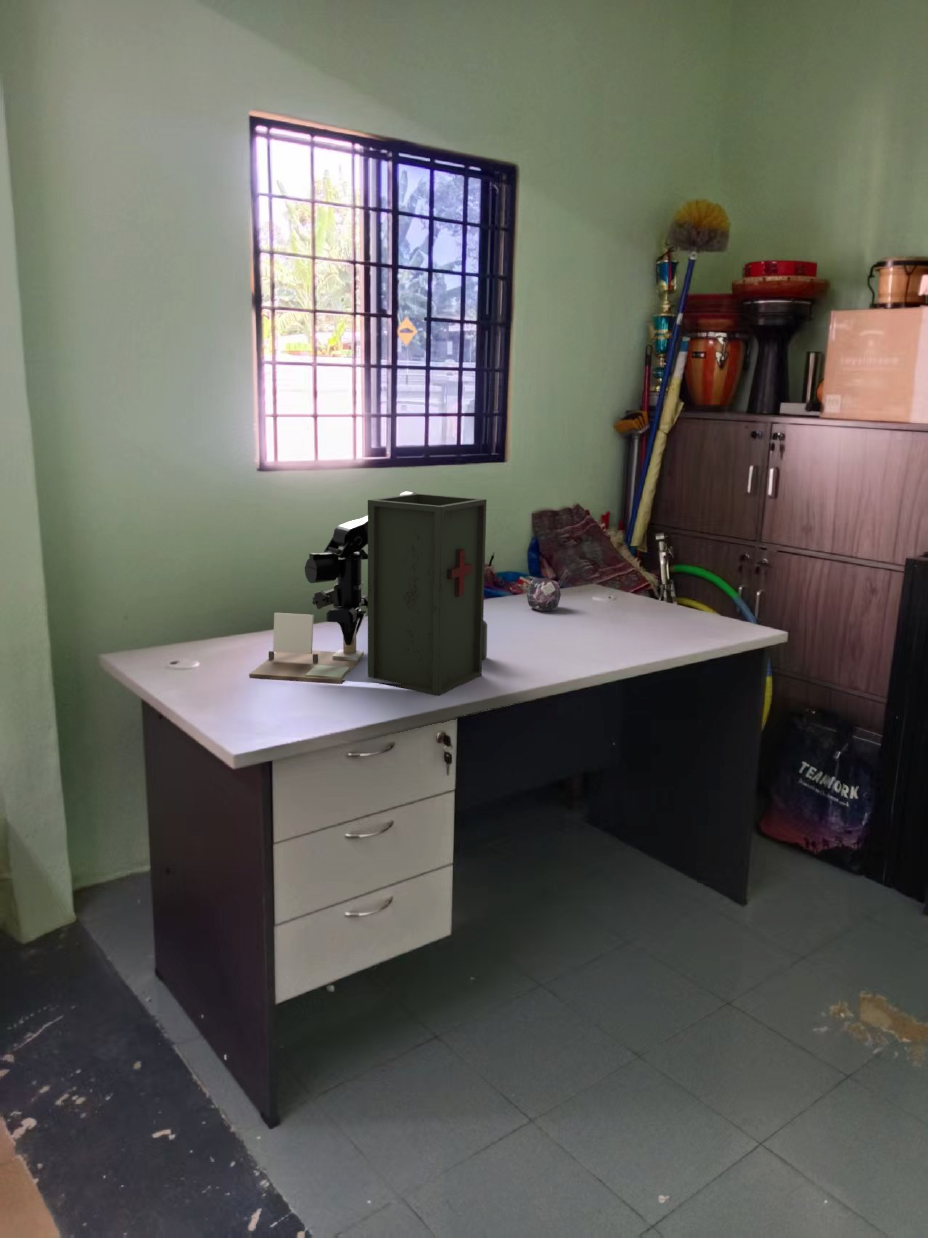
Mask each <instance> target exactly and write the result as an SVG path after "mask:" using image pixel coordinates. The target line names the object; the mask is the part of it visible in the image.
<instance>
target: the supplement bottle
mask: <svg viewBox="0 0 928 1238" xmlns="http://www.w3.org/2000/svg"><path fill="white" fill-rule="evenodd" d="M484 617H485V616H484V614H483V647H482V661H485V660H486V659H487V657H488V623H487V622H486V620H484Z"/></svg>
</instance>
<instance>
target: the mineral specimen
mask: <svg viewBox="0 0 928 1238" xmlns="http://www.w3.org/2000/svg"><path fill="white" fill-rule="evenodd" d="M561 593H562V592H561V590H560V585H559V583H558V581H555V580H553V579H550V578H547V577H545V578H543V577H541V578H540V577H539V578H533V579H532V580H531V581H530V582H529V585H528V589H527V593H526V599H527V605H528V607H530V608H532V609H534V610H537V611H540V612H554V611H555V610H557V609H558V606H559V605H560V604H559V603H560V599H561V596H562V595H561Z"/></svg>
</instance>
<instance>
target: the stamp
mask: <svg viewBox="0 0 928 1238" xmlns="http://www.w3.org/2000/svg"><path fill="white" fill-rule="evenodd" d="M342 636H343V635H342ZM342 639H343V643H342V645H343V646H342V647H343V648H342V649H338V650H336V651H335V652H336V653H335V654H334V655H333V656H332V659H336V660H352V661H358V660H359V659H360V658H361V657H362V655H363V654H365V651H364V650H357V635H356V631H355V634H354V637H353V640H352V643H351V645H346V643H345V640H344V636H343V637H342Z"/></svg>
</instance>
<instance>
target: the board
mask: <svg viewBox="0 0 928 1238" xmlns="http://www.w3.org/2000/svg"><path fill="white" fill-rule="evenodd" d="M336 652H337V651H330V650H329V651H328V650H327V651H326V650H324V651H323V650H314V649H312V654H301V653H285V652H273V650H268V659H266V660H265V661H264V662H263V663H262V664H260V665H259V666H258V667H256V668H255V669H253V670H252V671H251V672H250V673H248V675H249V679H258V680H272V681H273V680H275V681H286V682H287V681H289V682H290V681H291V682H304V683H316V684H318V683H319V684H320V683H321V684H332V685H333V684H335V685H342V684H344V682H346V680H345V679H344V678H345V677H346V676H347V675H348V674H349V673H350V672H351V671H352V670H353V669H354V668H355V667H356V665H358V663H359V662H360V661H361V660H362V659H364V657H365V656H366V655H367V653H364V654H363V655H362V657H361V658H360V659H359V660H358V661H352V660H336V659H332V656H333V655H334V654H335V653H336Z"/></svg>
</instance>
